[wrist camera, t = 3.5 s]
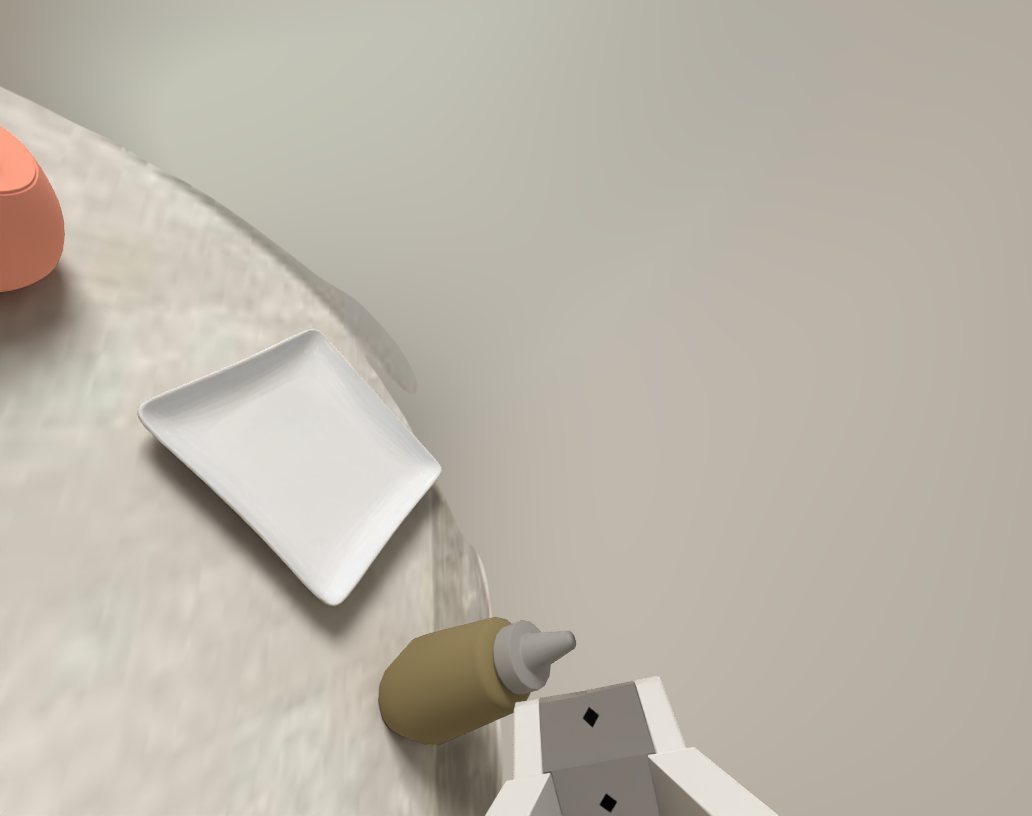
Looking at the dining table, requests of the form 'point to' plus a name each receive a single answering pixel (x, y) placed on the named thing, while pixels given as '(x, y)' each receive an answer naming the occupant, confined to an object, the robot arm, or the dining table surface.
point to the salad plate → (300, 456)
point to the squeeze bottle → (466, 677)
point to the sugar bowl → (26, 218)
